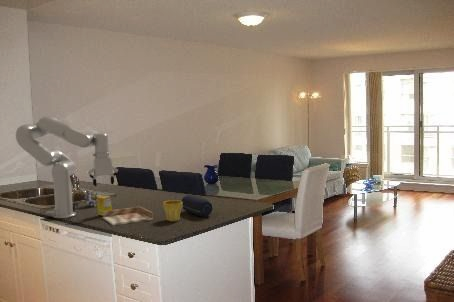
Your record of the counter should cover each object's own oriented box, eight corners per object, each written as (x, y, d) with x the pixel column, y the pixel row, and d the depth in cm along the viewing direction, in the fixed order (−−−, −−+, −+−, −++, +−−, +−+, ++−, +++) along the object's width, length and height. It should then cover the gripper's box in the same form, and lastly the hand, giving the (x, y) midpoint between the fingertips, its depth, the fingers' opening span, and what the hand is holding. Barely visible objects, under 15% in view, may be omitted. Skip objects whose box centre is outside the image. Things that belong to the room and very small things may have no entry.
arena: (113, 225, 233) (112, 218, 232) (103, 218, 250) (102, 211, 249) (153, 219, 243) (152, 212, 243) (140, 213, 261) (140, 206, 260)
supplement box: (106, 213, 262) (105, 195, 261) (112, 215, 258) (111, 196, 257) (97, 215, 257) (96, 197, 256) (103, 217, 253) (102, 198, 252)
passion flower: (95, 215, 284) (86, 202, 276) (85, 210, 290) (77, 197, 283) (108, 203, 289) (100, 190, 282) (98, 198, 296) (90, 185, 289)
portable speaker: (215, 216, 246) (215, 199, 246) (199, 219, 241) (199, 201, 240) (194, 209, 268) (193, 192, 267) (179, 211, 263) (178, 194, 262)
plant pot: (186, 220, 240) (185, 202, 240) (169, 223, 235) (168, 204, 234) (177, 216, 249) (177, 199, 248) (160, 219, 243) (160, 201, 243)
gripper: (88, 156, 247) (90, 187, 248) (119, 154, 256) (120, 184, 257) (85, 156, 253) (86, 185, 255) (115, 153, 262) (116, 182, 263)
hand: (103, 185), depth 256 cm, fingers open, 9 cm apart
